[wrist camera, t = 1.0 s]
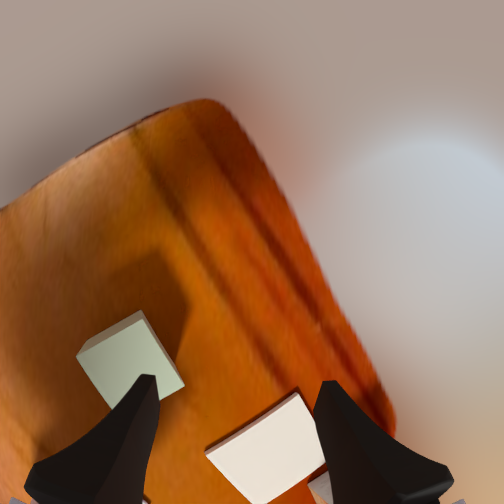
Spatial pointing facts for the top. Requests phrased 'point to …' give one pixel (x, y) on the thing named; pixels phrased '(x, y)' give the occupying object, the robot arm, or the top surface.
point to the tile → (270, 452)
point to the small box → (321, 489)
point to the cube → (127, 359)
